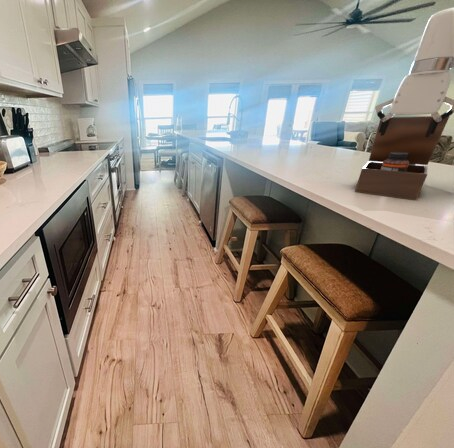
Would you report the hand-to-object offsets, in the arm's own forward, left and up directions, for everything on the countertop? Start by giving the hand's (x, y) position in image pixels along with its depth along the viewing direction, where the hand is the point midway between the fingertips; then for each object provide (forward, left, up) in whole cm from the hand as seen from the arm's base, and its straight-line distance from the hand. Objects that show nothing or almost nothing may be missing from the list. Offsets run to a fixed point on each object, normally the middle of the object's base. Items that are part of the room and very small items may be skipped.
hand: (403, 136), depth 71 cm
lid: (-3, -3, -2) cm, 5 cm away
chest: (-1, 0, -17) cm, 17 cm away
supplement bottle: (-1, 0, -16) cm, 16 cm away
